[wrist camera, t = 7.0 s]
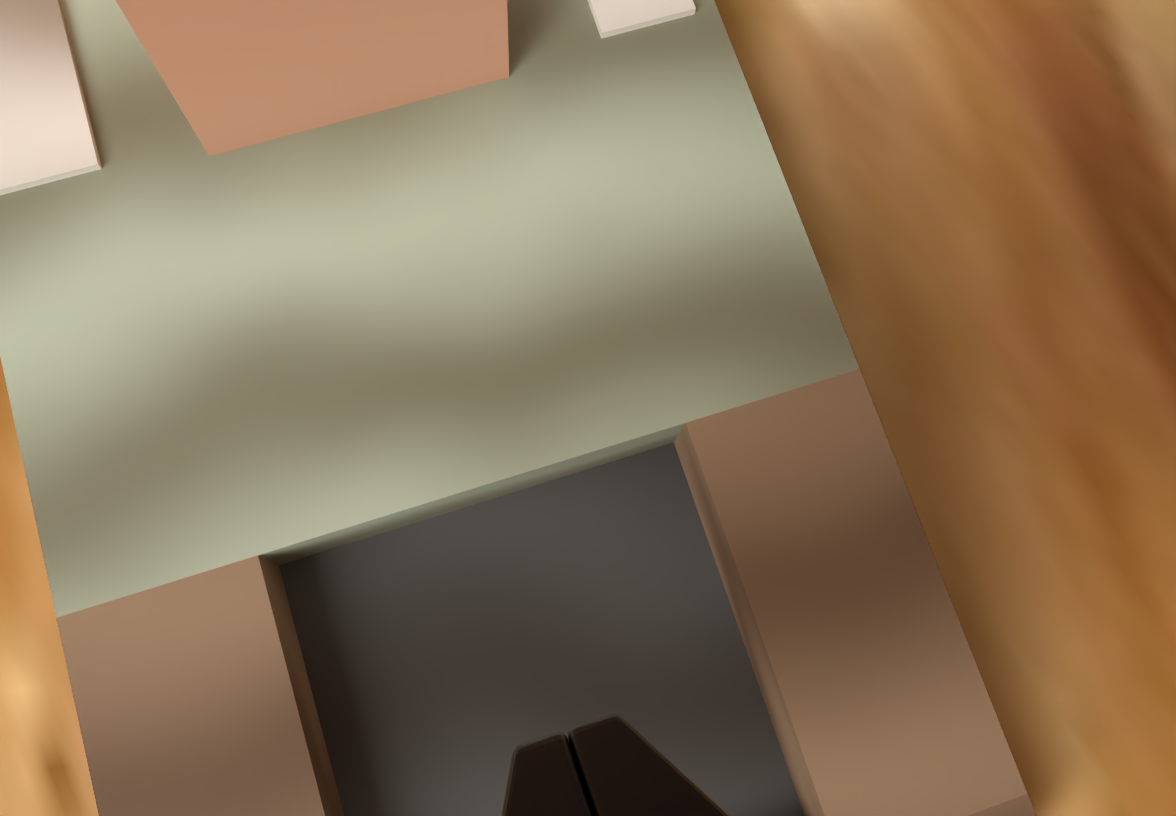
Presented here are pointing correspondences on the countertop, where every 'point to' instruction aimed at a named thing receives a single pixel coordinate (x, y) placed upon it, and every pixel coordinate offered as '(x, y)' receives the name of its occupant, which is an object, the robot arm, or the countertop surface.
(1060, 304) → the countertop surface
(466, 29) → the terracotta block
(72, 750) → the countertop surface
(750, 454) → the trap board
